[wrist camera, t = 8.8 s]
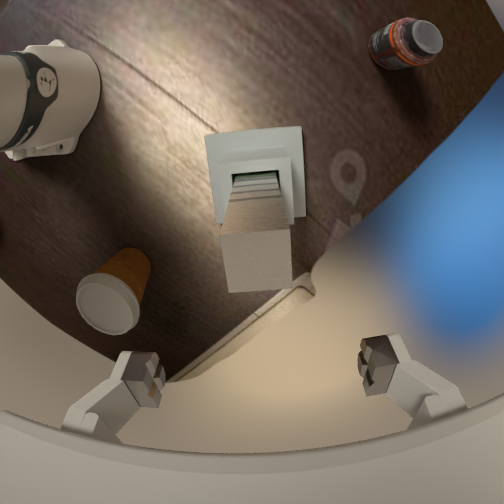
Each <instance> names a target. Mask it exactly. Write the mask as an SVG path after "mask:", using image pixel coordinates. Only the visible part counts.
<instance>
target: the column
mask: <svg viewBox="0 0 504 504" xmlns="http://www.w3.org/2000/svg"><path fill="white" fill-rule="evenodd" d="M219 236H220V242H221V248H222V254H223V260H224V267H225V273H226V278H227V284H228V290H229V293H234V292H248V291H262V290H275V289H287V288H292V262H291V239H290V227H289V223H288V219H287V215H286V212H285V208H284V204H283V200H282V195H281V192H280V188H279V185H278V181H277V177H276V173H275V170H268V171H256V172H246V173H237V174H236V177H235V181H234V184H233V187H232V191H231V194H230V199H229V201H228V206H227V209H226V213H225V217H224V220H223V224H222V227H221V231H220V235H219Z"/></svg>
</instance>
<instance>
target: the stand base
mask: <svg viewBox="0 0 504 504" xmlns="http://www.w3.org/2000/svg"><path fill="white" fill-rule="evenodd" d="M204 138H205V145H206V152H207V160H208V167H209V174H210V181H211V188H212V194H213V201H214V208H215V214H216V221H217V224H222V223H223V220H224V217H225V213H226V209H227V206H228V201H229V199H230V194H231V191H232V187H233V184H234V181H235V177H236V174H237V173H246V172H256V171H268V170H275V173H276V177H277V181H278V185H279V188H280V192H281V195H282V200H283V204H284V208H285V212H286V215H287V219H288V223H289V224H294V217H306V204H305V180H304V161H303V145H302V130H301V126H291V127H275V128H262V129H251V130H241V131H232V132H223V133H215V134H208V135H205V136H204Z"/></svg>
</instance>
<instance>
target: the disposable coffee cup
mask: <svg viewBox="0 0 504 504" xmlns="http://www.w3.org/2000/svg"><path fill="white" fill-rule="evenodd" d="M150 272H151V265H150V262H149V260H148V258H147V256H146V255H145V254H144V253H143V252H141V251H140V250H138V249H136V248H131V247H127V248H123V249H121V250H120V251H119V252H118V253H116V254H115V255H114V256H113V257H112V258H110V259H109V260H108V261H107V262H106V263H104V264H103V265H102V266H101V267H100V268H99V269H97V270H96V271H95V272H94V273H93V274H91V275H88V276H86V277H84V278H83V279H82V280H81V282H80V283H79V285H78V288H77V294H76V304H77V308H78V310H79V312H80V314H81V315H82V317H83V318H84V319H85V320H86V322H87V323H88V324H90V325H91V326H92V327H94V328H95V329H97V330H98V331H101V332H103V333H106V334H110V335H121V334H123V333H126V332H127V331H128V330H130V329H132V328H133V327H134V326H135V325H136V324H137V322H138V319H139V316H140V313H139V307H140V304H141V300H142V297H143V294H144V291H145V287H146V284H147V281H148V277H149V274H150Z"/></svg>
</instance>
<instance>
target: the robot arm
mask: <svg viewBox="0 0 504 504" xmlns="http://www.w3.org/2000/svg"><path fill="white" fill-rule="evenodd" d="M99 95H100V76H99V72H98V69H97V66H96V64H95V63H94V61H93V60H92V58H91V57H90V56H89V55H87V54H86V53H84V52H82V51H80V50H76V49H73V48H70V47H69V46H68V45H67V44H66V43H65V42H64V41H63V40H54V41H53V42H51V43H50V44H49V45H30V46H28V47H26V49H25V50H23V51H12V52H5V53H2V54H0V152H4V151H5V153H6V154H7V156H8V157H9V158H10V159H13V160H14V161H16V160H21V159H24V158H26V157H35V156H47V155H61V154H70V153H72V152H73V151H74V150H75V148H76V145H77V142H78V139H79V135H80V134H81V132H82V130H83V129H84V128H85V127H86V125H87V124H88V123H89V121H90V120H91V118H92V116H93V114H94V112H95V110H96V107H97V104H98V100H99ZM61 145H63V149H62V147H61ZM360 347H361V351H360V352H359V354H358V370H359V373H360V375H361V376H362V377H363V378H364V381H363V386H364V390H365V393H366V396H371V395H377V394H383V393H386V394H387V395H388V396H389V397H390V398H391V399H392V400H393V401H394V402H396V403H397V404H398V405H399V406H400V407H401V408H402V409H403V410H404V411H406V412H407V413H408V414H409V415H410V416H411V417H412V418H413V420H412V422H411V424H410V425H409V427H408V428H407V430H405V431H401V432H397V433H393V434H390V435H385V436H381V437H377V438H372V439H368V440H363V441H358V442H353V443H347V444H342V445H336V446H329V447H322V448H314V449H306V450H296V451H284V452H270V453H231V454H230V453H226V454H225V453H198V452H183V451H171V450H162V449H154V448H146V447H139V446H133V445H127V444H123V443H122V442H121V441H120V439H119V438H118V437H117V436H116V433H117V432H118V431H119V430H120V429H121V428H122V427H123V426H124V425H125V424H126V423H127V422H128V421H129V420H130V418H131V417H132V416H133V415H134V414H135V413H136V412H137V411H138V410H139V409H140V407H150V408H159V404H160V400H161V396H162V395H161V394H160V390H161V389H162V388H163V387H164V385H165V371H164V368H163V366H162V365H161V364H159V363H158V361H159V357H158V355H157V353H152V352H134V351H133V352H131V351H122V352H121V353H120V355H119V358H118V360H117V362H116V364H115V367H114V369H113V371H112V374H111V376H110V379H106V380H105V381H103V382H102V383H101V384H99V385H98V386H97V387H95V388H94V389H93V390H92V391H90V392H89V393H88V394H86V395H85V396H84V397H82V398H81V399H80V400H79V401H77V402H76V403H75V404H73V405H72V406H71V407H70V408H69V410H68V412H67V415H66V417H65V419H64V421H63V424H62V426H61V429H58V428H54V427H51V426H48V425H45V424H42V423H39V422H36V421H33V420H30V419H27V418H25V417H22V416H20V415H17V414H14V413H12V412H10V411H6V410H2V411H0V504H504V393H502V394H501V395H498V396H496V397H494V398H492V399H490V400H488V401H485V402H483V403H481V404H479V405H477V406H474V407H472V408H469V409H468V408H467V406H466V404H465V402H464V400H463V398H462V396H461V394H460V392H459V390H458V388H457V386H455V385H454V384H452V383H451V382H449V381H448V380H446V379H444V378H443V377H441V376H439V375H438V374H436V373H435V372H433V371H432V370H430V369H428V368H427V367H425V366H424V365H422V364H421V363H419V362H417V361H416V360H414V361H412V359H411V357H410V355H409V353H408V351H407V349H406V347H405V345H404V343H403V341H402V339H401V337H400V335H399V334H398V333H393V334H387V335H381V336H375V337H370V338H364V339H362V340H361V344H360Z"/></svg>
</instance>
